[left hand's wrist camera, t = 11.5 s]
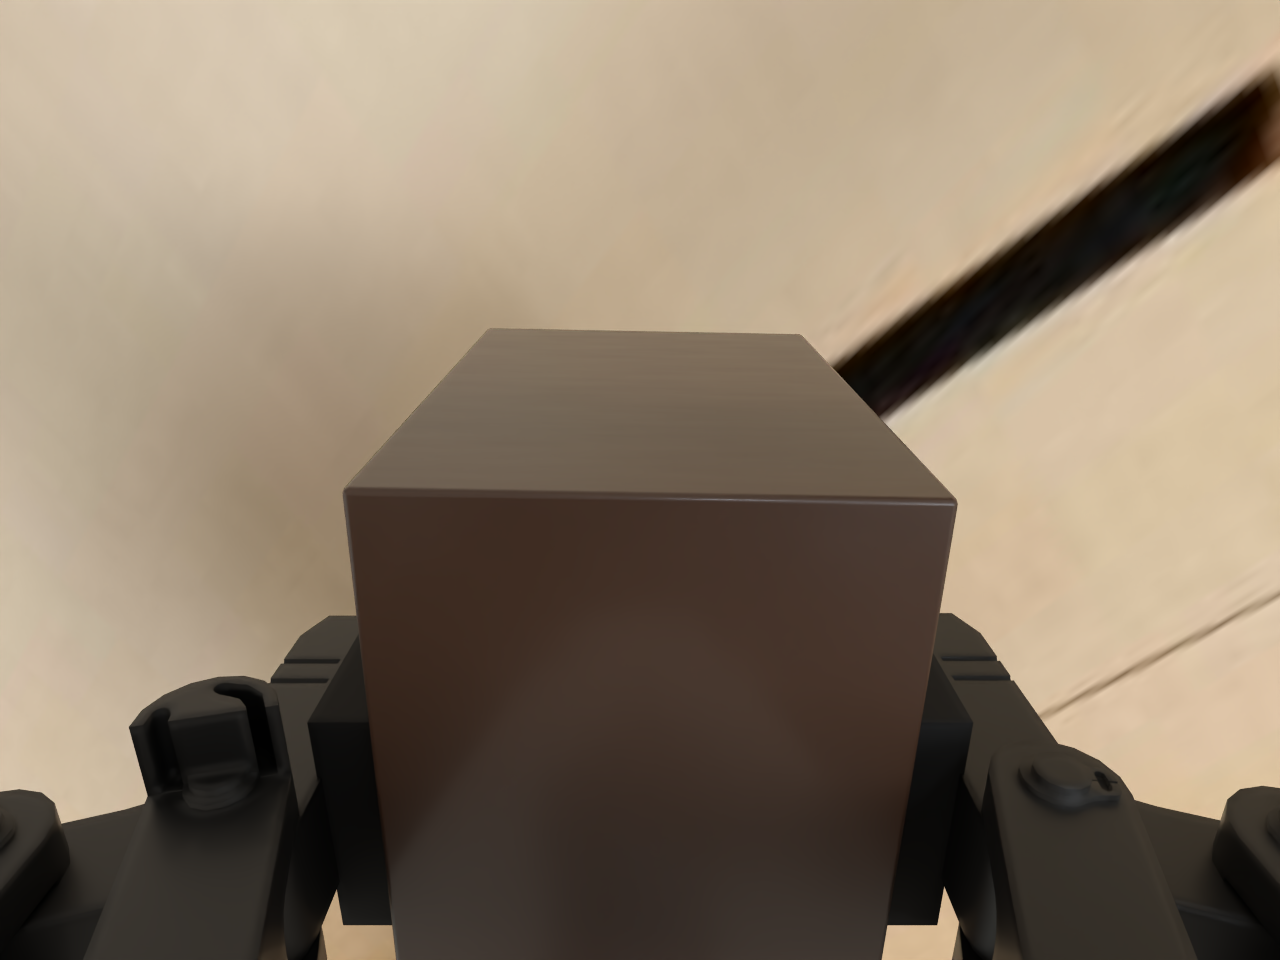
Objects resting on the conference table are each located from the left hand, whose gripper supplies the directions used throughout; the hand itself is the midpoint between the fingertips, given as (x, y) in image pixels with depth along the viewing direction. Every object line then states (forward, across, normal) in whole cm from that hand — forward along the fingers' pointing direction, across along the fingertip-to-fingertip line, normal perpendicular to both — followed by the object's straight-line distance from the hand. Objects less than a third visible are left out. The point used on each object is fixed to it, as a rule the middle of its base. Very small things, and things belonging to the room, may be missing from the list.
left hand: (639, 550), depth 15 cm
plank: (0, 0, -12) cm, 12 cm away
